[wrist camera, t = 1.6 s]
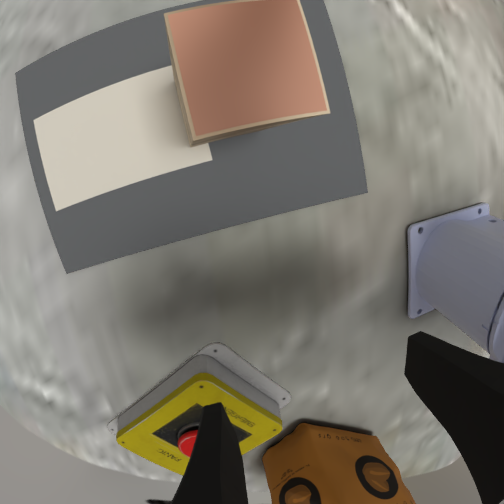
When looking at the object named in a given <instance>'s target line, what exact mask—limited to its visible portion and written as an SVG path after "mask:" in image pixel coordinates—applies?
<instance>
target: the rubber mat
mask: <svg viewBox="0 0 504 504" xmlns="http://www.w3.org/2000/svg"><path fill="white" fill-rule="evenodd" d="M227 1H235V0H203V1H198V2H193V3H188V4H184V5H179V6H175V7H171V8H167V9H164V10H160V11H156V12H153V13H149V14H146V15H143V16H140V17H136V18H133V19H130V20H127V21H124V22H122V23H119V24H116V25H113V26H111V27H108V28H105V29H103V30H100V31H98V32H95V33H93V34H90V35H88V36H86V37H83V38H81V39H79V40H77V41H74V42H72V43H70V44H68V45H66V46H64V47H62V48H60V49H58V50H56V51H54V52H52V53H50V54H48V55H46V56H44V57H42V58H40V59H39V60H37V61H35V62H33V63H31V64H30V65H28V66H26V67H25V68H23V69H21V70H20V71H18V72H16V73H15V74H16V84H17V93H18V100H19V107H20V114H21V120H22V125H23V131H24V136H25V141H26V146H27V151H28V155H29V159H30V164H31V168H32V172H33V176H34V179H35V183H36V187H37V190H38V194H39V197H40V201H41V204H42V207H43V210H44V214H45V217H46V220H47V223H48V226H49V229H50V231H51V234H52V237H53V240H54V243H55V245H56V248H57V251H58V253H59V256H60V259H61V261H62V264H63V266H64V269H65V271H66V273H67V274H68V273H71V272H74V271H77V270H81V269H84V268H87V267H90V266H94V265H97V264H100V263H104V262H107V261H110V260H114V259H117V258H121V257H124V256H127V255H131V254H134V253H138V252H141V251H145V250H148V249H152V248H155V247H159V246H162V245H166V244H169V243H173V242H176V241H180V240H183V239H187V238H191V237H194V236H198V235H202V234H205V233H209V232H213V231H216V230H220V229H224V228H228V227H231V226H235V225H239V224H243V223H246V222H250V221H254V220H258V219H262V218H266V217H270V216H274V215H277V214H281V213H285V212H289V211H293V210H297V209H301V208H305V207H309V206H314V205H318V204H322V203H326V202H330V201H334V200H338V199H343V198H347V197H351V196H355V195H360V194H364V193H368V190H367V183H366V176H365V169H364V163H363V157H362V151H361V145H360V140H359V134H358V129H357V124H356V119H355V114H354V109H353V105H352V100H351V96H350V91H349V87H348V83H347V79H346V75H345V71H344V67H343V63H342V59H341V56H340V52H339V49H338V45H337V42H336V38H335V35H334V32H333V28H332V25H331V22H330V19H329V16H328V13H327V10H326V7H325V4H324V1H323V0H300V3H301V6H302V9H303V12H304V15H305V18H306V22H307V25H308V28H309V32H310V35H311V38H312V42H313V45H314V49H315V52H316V56H317V60H318V63H319V67H320V71H321V75H322V79H323V83H324V87H325V91H326V96H327V100H328V104H329V109H330V114H325V115H321V116H316V117H312V118H308V119H303V120H299V121H295V122H291V123H287V124H284V125H280V126H276V127H272V128H269V129H265V130H261V131H257V132H252V133H248V134H243V135H239V136H234V137H230V138H226V139H222V140H218V141H214V142H210V143H206V144H202V145H198V146H195V147H190V144H189V140H188V136H187V132H186V127H185V123H184V119H183V115H182V111H181V107H180V103H179V99H178V94H177V90H176V86H175V82H174V76H173V70H172V64H171V58H170V52H169V45H168V39H167V32H166V26H165V19H164V13H168V12H172V11H176V10H181V9H186V8H191V7H196V6H201V5H207V4H213V3H220V2H227Z"/></svg>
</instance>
